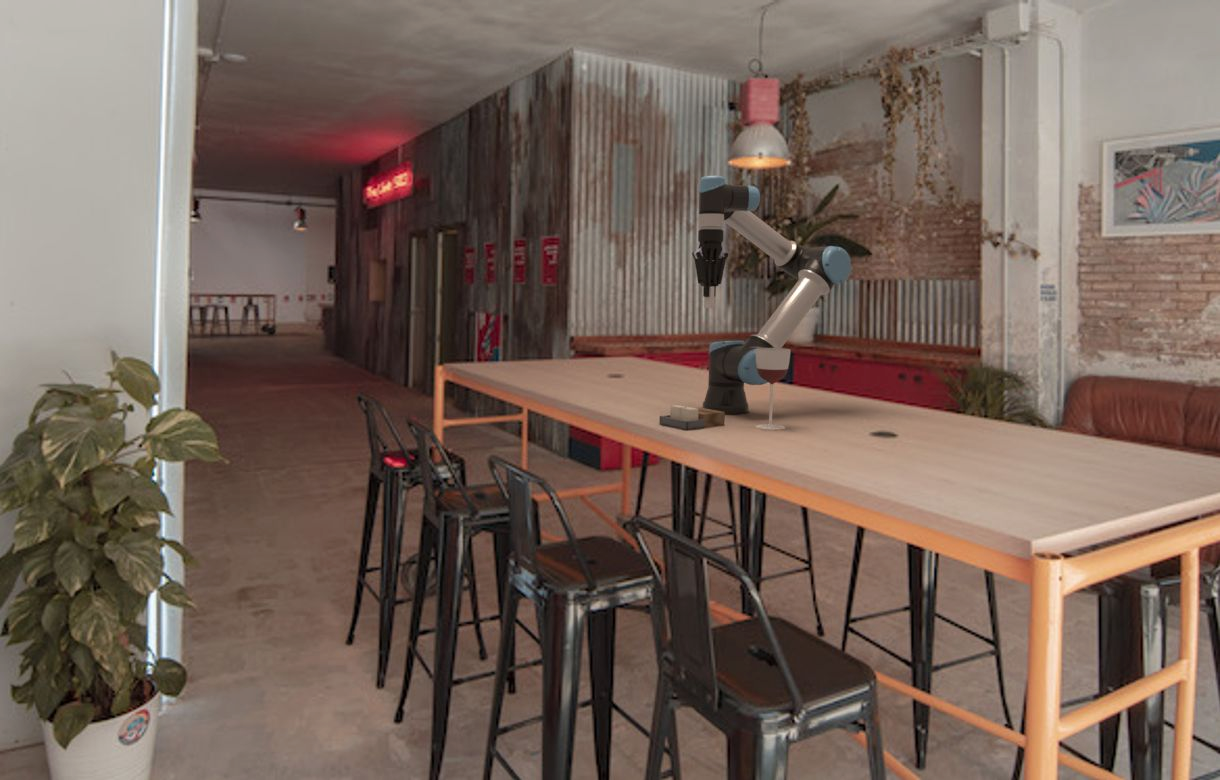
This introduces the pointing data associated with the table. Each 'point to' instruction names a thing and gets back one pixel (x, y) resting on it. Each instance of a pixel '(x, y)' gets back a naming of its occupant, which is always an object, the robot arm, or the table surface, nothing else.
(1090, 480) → the table surface
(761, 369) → the wineglass
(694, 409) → the beige block
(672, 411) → the beige block
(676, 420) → the tray
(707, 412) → the board
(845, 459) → the table surface
